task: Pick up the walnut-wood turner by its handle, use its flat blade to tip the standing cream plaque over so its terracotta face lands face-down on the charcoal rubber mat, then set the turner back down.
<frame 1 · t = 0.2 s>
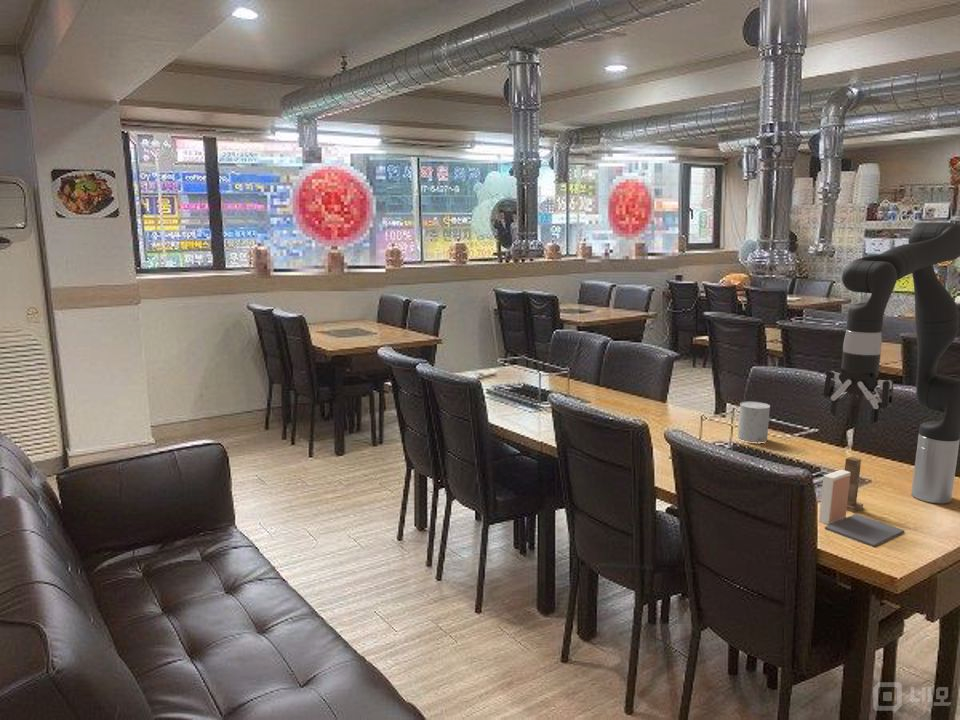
hand: (854, 420, 164), 29 cm above the table, tool pointing down, fingers open, 8 cm apart
plaque: (832, 519, 179), on the table
grey stone cylinder: (752, 440, 244), on the table
turner: (848, 507, 187), on the table
mat: (864, 530, 173), on the table
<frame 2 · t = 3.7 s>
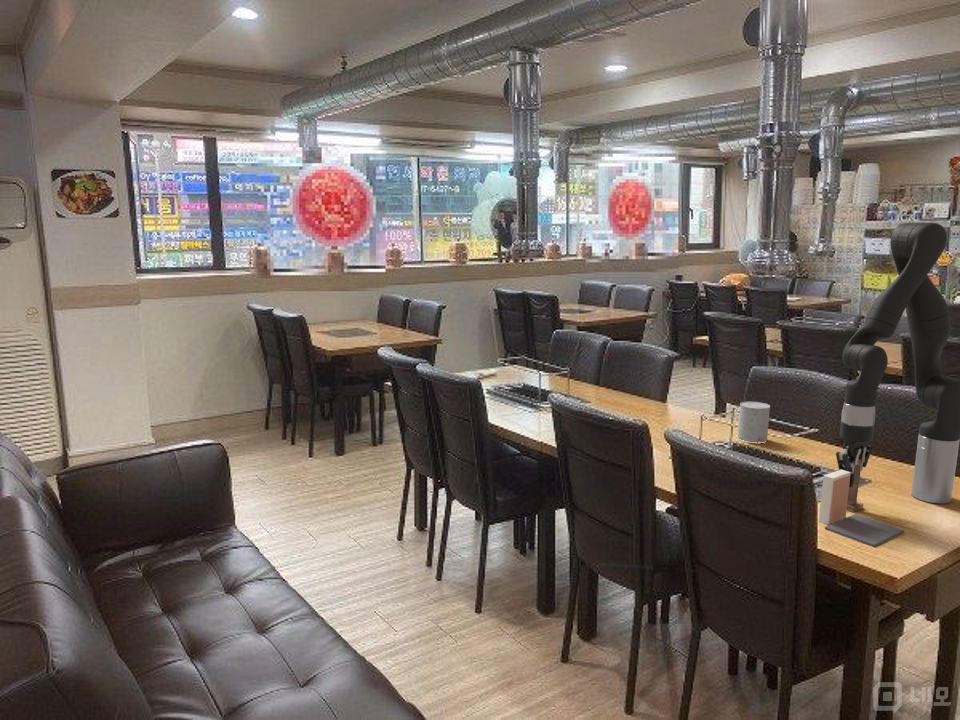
hand: (850, 484, 186), 6 cm above the table, tool pointing down, fingers closed on turner, 2 cm apart
turner: (848, 506, 187), on the table, touching gripper
everything else where it was.
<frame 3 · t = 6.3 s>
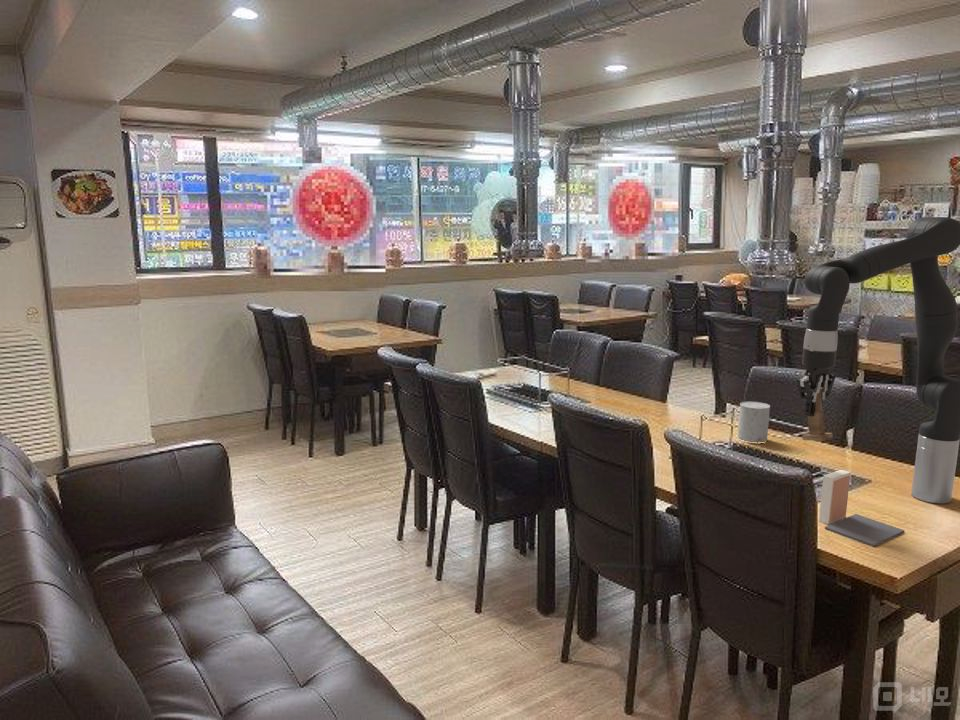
hand: (812, 414, 181), 25 cm above the table, tool pointing down, fingers closed on turner, 2 cm apart
turner: (817, 438, 180), point 19 cm above the table, tilted 12°, touching gripper
everything else where it was.
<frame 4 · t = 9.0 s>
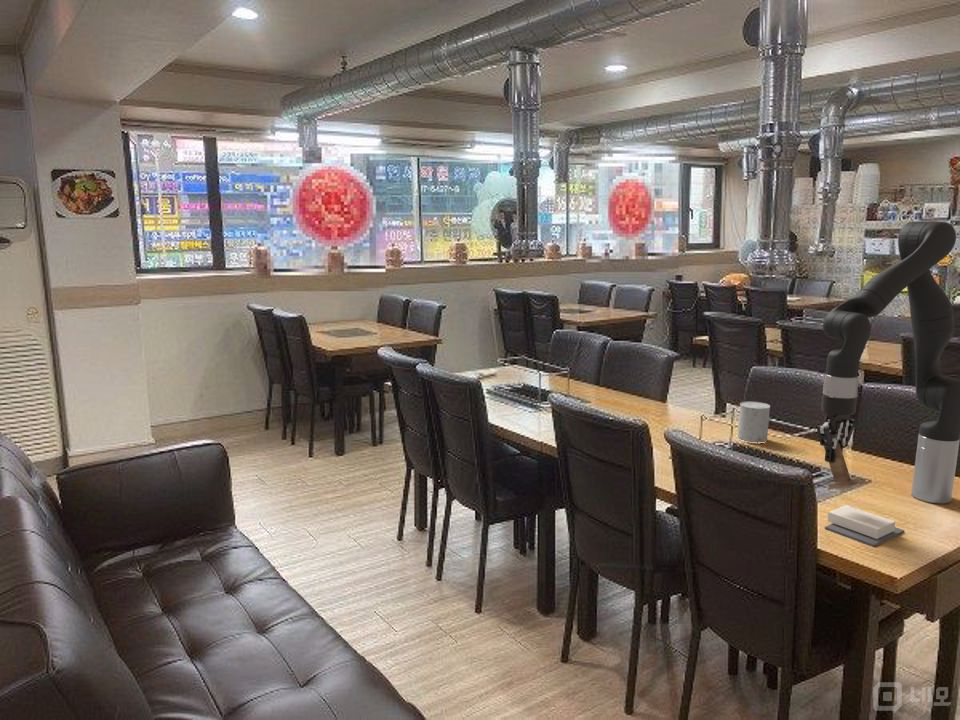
hand: (833, 460, 178), 15 cm above the table, tool pointing down, fingers closed on turner, 2 cm apart
plaque: (837, 513, 178), point 2 cm above the table, tilted 90°, touching mat
turner: (844, 485, 176), point 9 cm above the table, tilted 24°, touching gripper
everything else where it was.
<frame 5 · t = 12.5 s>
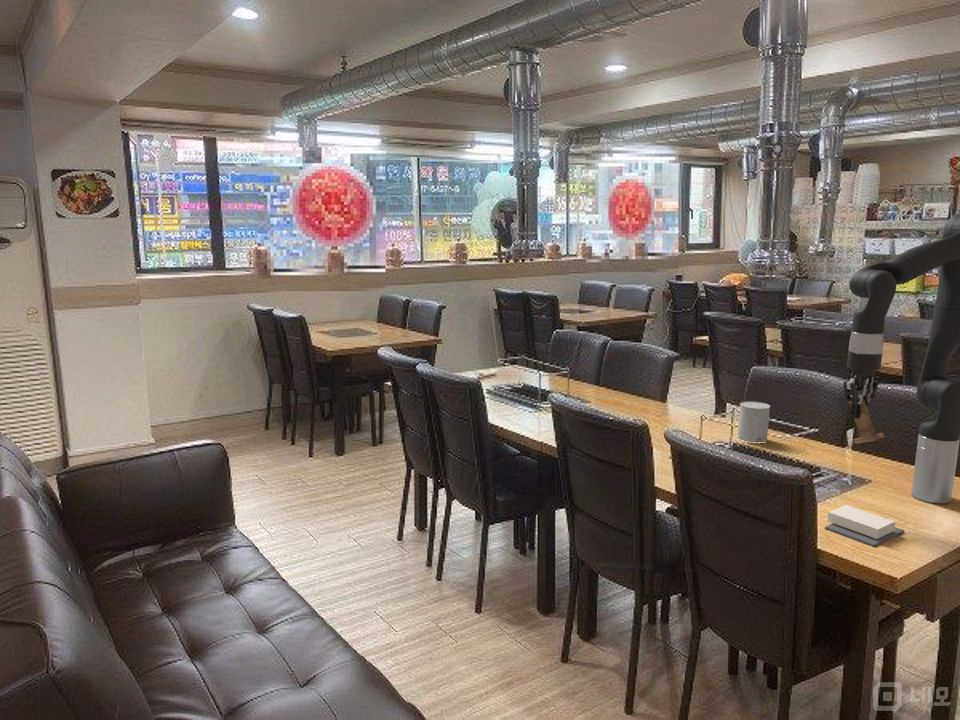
hand: (858, 416, 182), 24 cm above the table, tool pointing down, fingers closed on turner, 2 cm apart
turner: (869, 440, 181), point 19 cm above the table, tilted 24°, touching gripper
everything else where it was.
when the fingers open (8 cm above the table, at t = 15.7 s): turner drops 2 cm, on the table.
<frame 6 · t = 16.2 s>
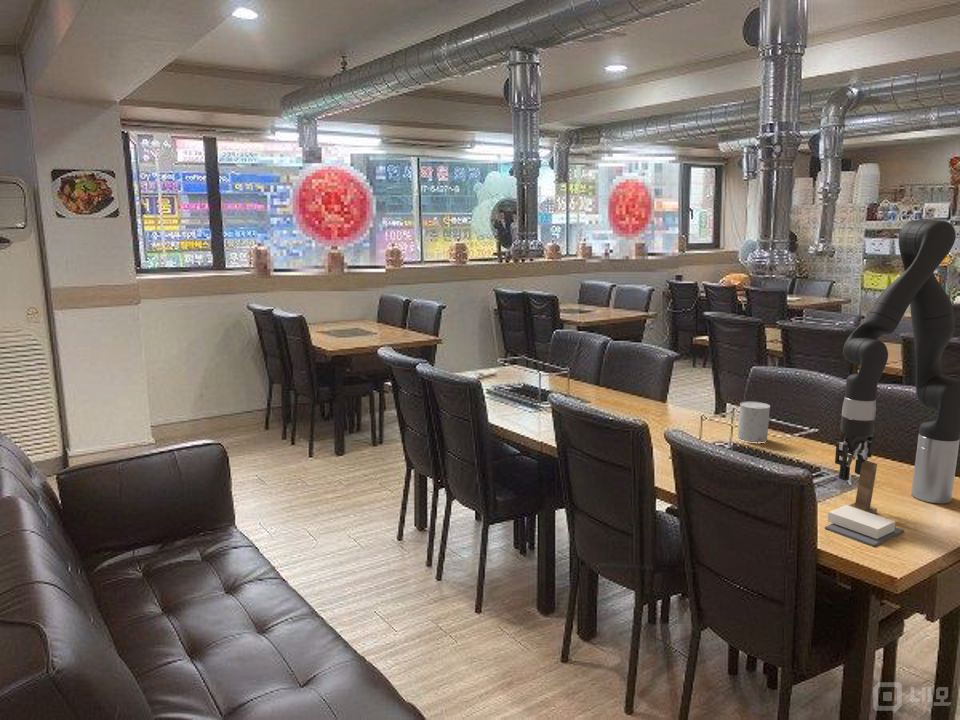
hand: (851, 476, 185), 8 cm above the table, tool pointing down, fingers open, 7 cm apart
turner: (861, 511, 184), on the table
everything else where it was.
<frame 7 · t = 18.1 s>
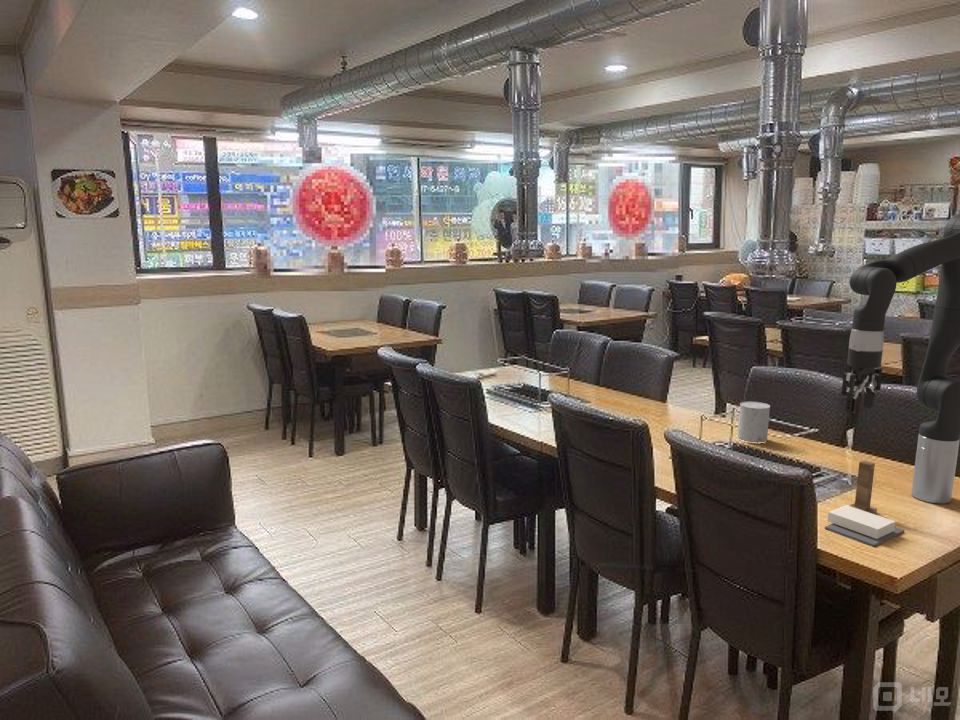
hand: (859, 410, 182), 26 cm above the table, tool pointing down, fingers open, 8 cm apart
nothing on the table moved.
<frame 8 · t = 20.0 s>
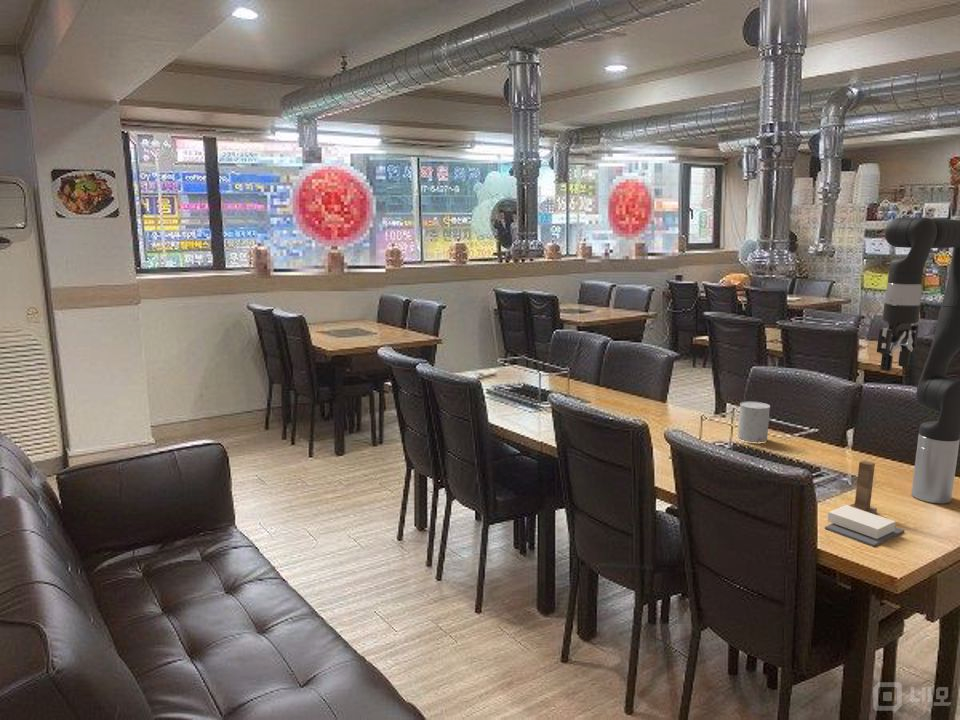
hand: (894, 368, 175), 38 cm above the table, tool pointing down, fingers open, 8 cm apart
nothing on the table moved.
at the end: plaque tilted 90°; plaque touching mat; the gripper is holding nothing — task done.
